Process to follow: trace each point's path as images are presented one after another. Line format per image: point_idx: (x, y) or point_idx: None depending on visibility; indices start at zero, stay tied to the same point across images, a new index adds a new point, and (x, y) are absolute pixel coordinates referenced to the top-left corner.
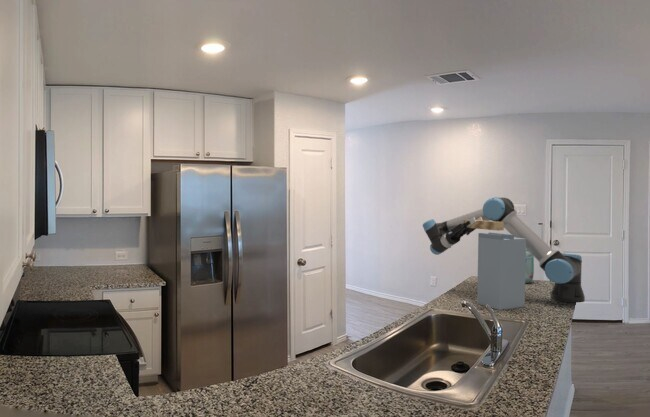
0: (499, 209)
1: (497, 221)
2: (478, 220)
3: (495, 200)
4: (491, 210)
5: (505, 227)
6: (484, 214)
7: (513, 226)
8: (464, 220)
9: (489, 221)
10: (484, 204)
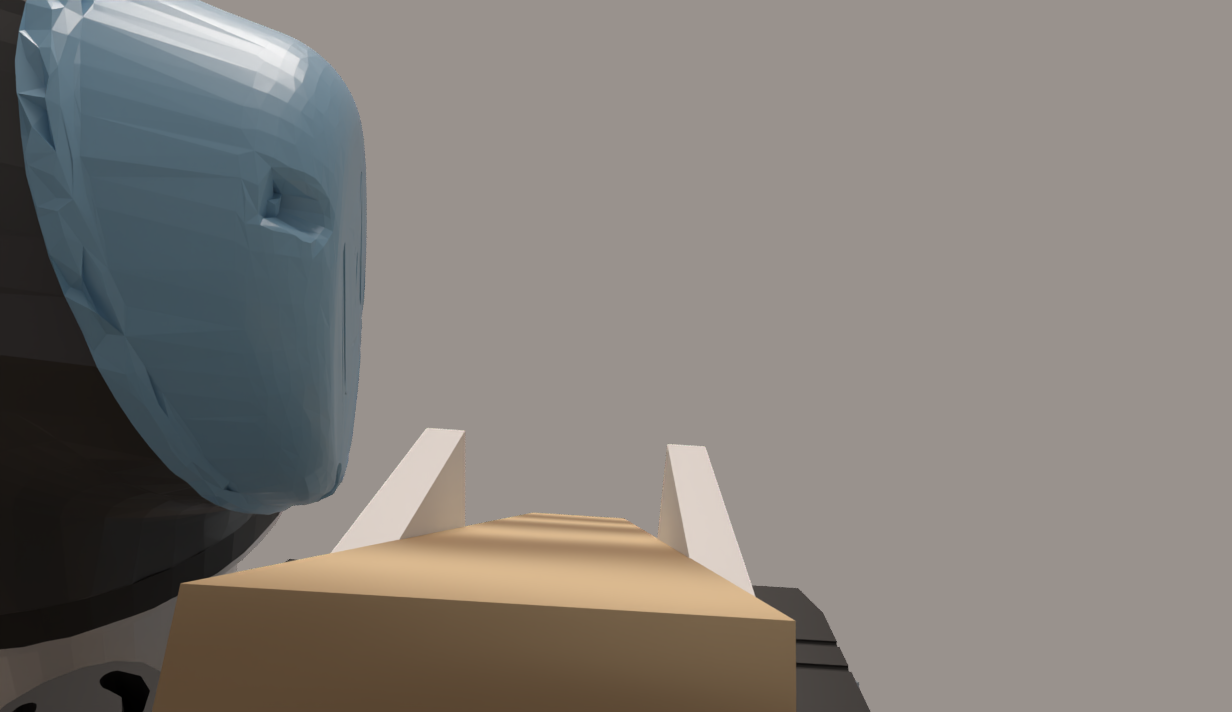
0: (358, 326)
1: (241, 520)
2: (549, 532)
3: (365, 166)
4: (351, 310)
5: (161, 616)
6: (323, 364)
7: (236, 569)
8: (771, 660)
9: (604, 521)
10: (331, 116)
